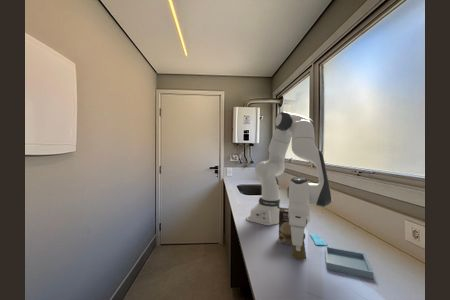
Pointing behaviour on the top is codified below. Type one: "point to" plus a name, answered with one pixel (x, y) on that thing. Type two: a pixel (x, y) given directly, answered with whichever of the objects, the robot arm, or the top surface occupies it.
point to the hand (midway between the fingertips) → (298, 246)
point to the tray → (348, 262)
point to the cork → (299, 254)
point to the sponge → (317, 240)
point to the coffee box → (284, 227)
